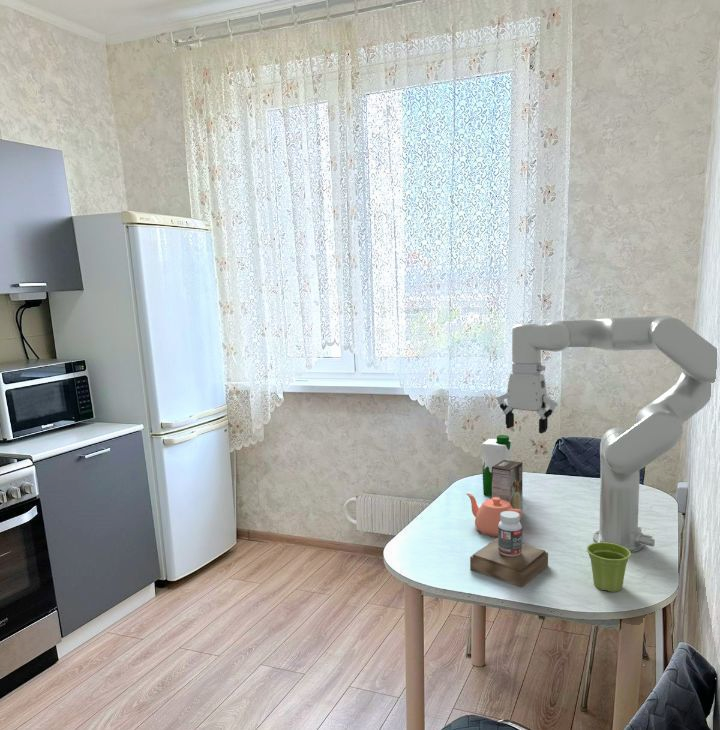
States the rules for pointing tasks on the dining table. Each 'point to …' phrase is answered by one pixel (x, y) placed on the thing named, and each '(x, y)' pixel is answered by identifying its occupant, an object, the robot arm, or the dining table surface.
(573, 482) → the dining table surface
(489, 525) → the teapot
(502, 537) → the pill bottle
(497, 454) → the milk carton
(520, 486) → the coffee box
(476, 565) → the walnut base
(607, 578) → the plant pot
